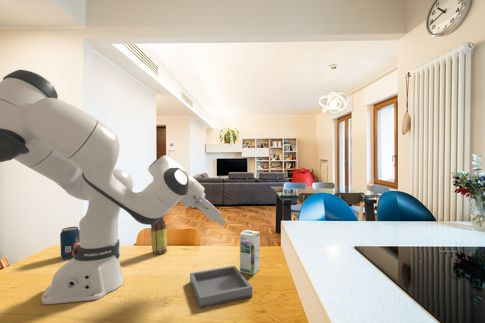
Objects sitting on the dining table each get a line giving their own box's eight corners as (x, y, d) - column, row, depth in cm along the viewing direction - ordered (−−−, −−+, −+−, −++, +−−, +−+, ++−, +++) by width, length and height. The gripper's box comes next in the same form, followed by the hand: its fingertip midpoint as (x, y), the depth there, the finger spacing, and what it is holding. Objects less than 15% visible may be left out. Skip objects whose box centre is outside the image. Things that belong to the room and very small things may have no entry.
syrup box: (239, 272, 94) (239, 233, 94) (246, 266, 100) (246, 228, 99) (253, 276, 92) (253, 235, 91) (260, 269, 97) (260, 231, 96)
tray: (200, 308, 73) (200, 298, 73) (190, 281, 88) (190, 273, 88) (252, 296, 79) (252, 287, 79) (234, 273, 94) (234, 265, 93)
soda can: (64, 254, 111) (63, 227, 111) (82, 252, 114) (81, 225, 113) (58, 261, 105) (57, 231, 104) (77, 258, 107) (77, 230, 106)
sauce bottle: (169, 249, 116) (168, 206, 116) (163, 255, 110) (162, 209, 109) (155, 249, 117) (154, 205, 116) (148, 254, 111) (148, 208, 110)
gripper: (205, 191, 78) (235, 220, 82) (192, 183, 97) (218, 207, 101) (190, 207, 76) (222, 236, 80) (180, 196, 95) (207, 220, 99)
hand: (220, 220), depth 91 cm, fingers open, 8 cm apart
